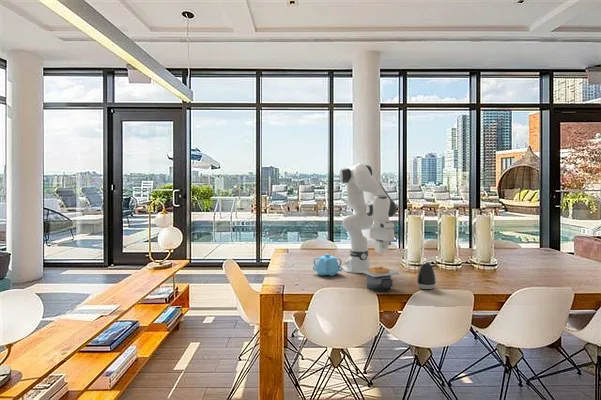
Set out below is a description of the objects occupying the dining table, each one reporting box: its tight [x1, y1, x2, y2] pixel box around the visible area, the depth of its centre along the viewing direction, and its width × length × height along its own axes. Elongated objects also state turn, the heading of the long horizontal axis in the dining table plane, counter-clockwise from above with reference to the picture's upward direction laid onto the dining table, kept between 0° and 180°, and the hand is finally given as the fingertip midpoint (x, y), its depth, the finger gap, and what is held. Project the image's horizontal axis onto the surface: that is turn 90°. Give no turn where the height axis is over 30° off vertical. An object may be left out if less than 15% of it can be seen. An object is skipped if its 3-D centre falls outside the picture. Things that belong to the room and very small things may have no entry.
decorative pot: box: [312, 253, 343, 277], centre depth 282 cm, size 16×16×14 cm
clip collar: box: [369, 266, 390, 273], centre depth 245 cm, size 8×9×2 cm
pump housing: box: [374, 240, 392, 254], centre depth 246 cm, size 5×9×7 cm, turn 112°
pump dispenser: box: [416, 261, 437, 290], centre depth 243 cm, size 10×10×15 cm
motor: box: [360, 268, 400, 292], centre depth 244 cm, size 18×16×10 cm
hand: (381, 247), depth 245 cm, fingers closed on pump housing, 5 cm apart
